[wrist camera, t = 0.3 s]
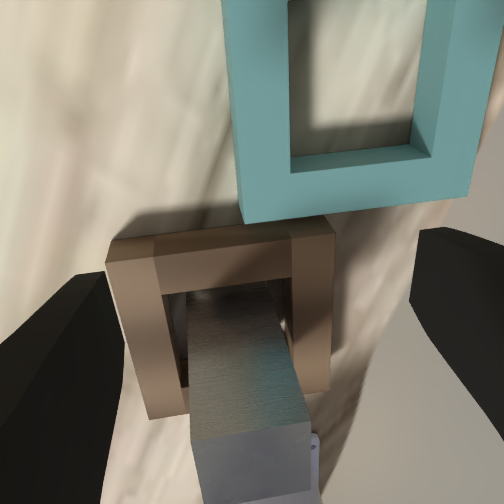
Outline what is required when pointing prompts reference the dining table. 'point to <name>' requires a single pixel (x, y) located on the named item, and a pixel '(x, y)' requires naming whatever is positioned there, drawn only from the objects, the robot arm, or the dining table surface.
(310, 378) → the socket block
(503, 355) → the robot arm
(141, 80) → the dining table surface
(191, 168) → the dining table surface
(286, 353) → the peg
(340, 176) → the teal square frame
